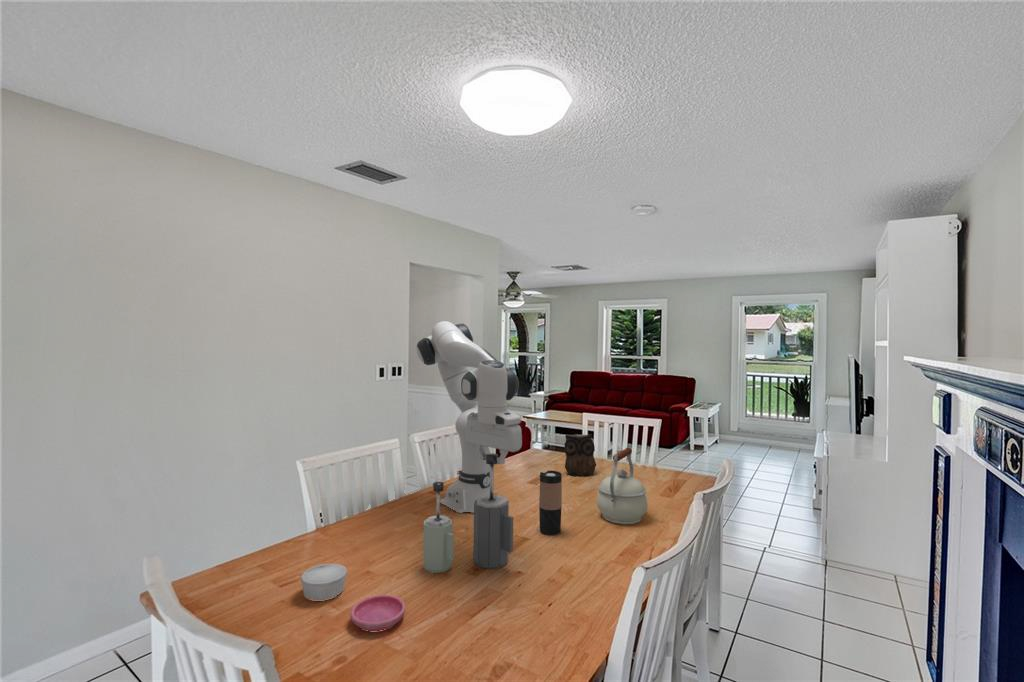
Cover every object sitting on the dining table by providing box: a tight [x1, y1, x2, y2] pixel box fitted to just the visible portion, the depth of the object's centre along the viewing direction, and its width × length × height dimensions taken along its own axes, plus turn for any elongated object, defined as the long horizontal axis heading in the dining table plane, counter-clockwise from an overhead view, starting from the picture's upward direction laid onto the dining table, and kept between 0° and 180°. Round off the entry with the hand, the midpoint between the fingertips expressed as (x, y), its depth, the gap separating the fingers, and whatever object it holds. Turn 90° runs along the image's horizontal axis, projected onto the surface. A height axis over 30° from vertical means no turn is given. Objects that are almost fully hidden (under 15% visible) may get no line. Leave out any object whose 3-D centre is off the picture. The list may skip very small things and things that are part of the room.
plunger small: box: [432, 481, 445, 518], centre depth 143 cm, size 3×3×10 cm
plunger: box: [486, 452, 499, 500], centre depth 147 cm, size 4×4×13 cm
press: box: [472, 494, 514, 570], centre depth 146 cm, size 13×11×18 cm
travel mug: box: [538, 470, 563, 536], centre depth 170 cm, size 8×8×20 cm
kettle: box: [596, 447, 648, 525], centre depth 185 cm, size 25×18×25 cm
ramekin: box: [300, 563, 348, 600], centre depth 128 cm, size 11×11×5 cm
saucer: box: [350, 594, 406, 631], centre depth 116 cm, size 12×12×3 cm
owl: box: [563, 433, 597, 478], centre depth 240 cm, size 13×13×20 cm
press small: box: [422, 514, 455, 574], centre depth 142 cm, size 10×8×14 cm
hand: (491, 461), depth 147 cm, fingers open, 6 cm apart
